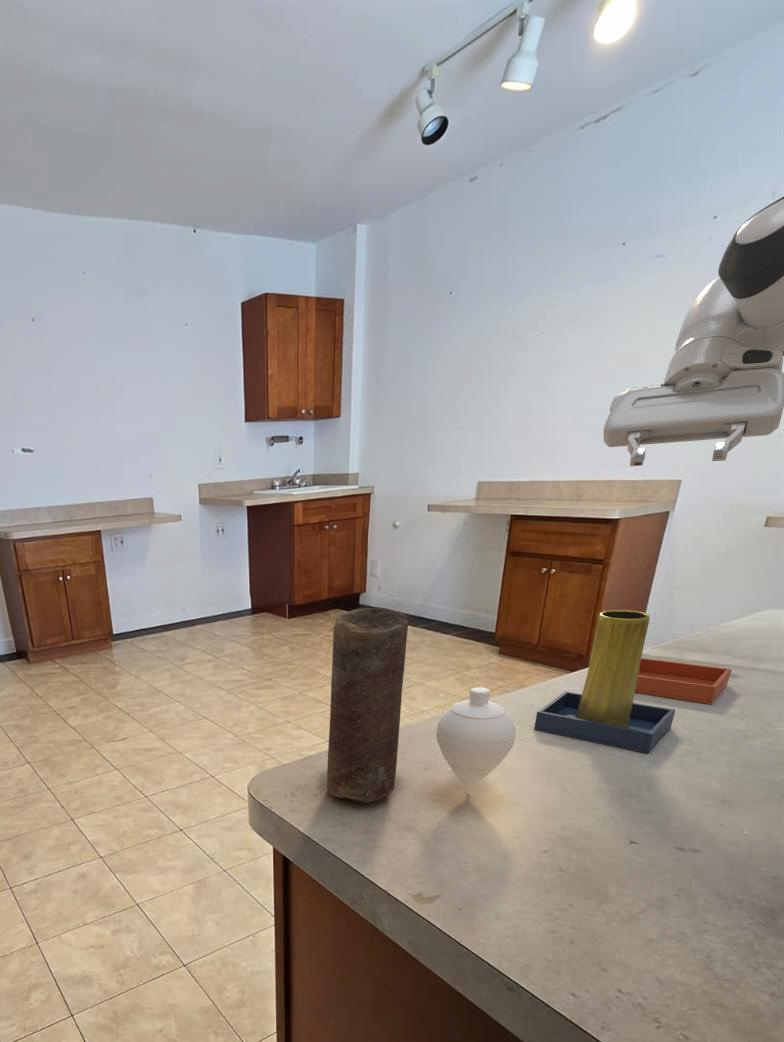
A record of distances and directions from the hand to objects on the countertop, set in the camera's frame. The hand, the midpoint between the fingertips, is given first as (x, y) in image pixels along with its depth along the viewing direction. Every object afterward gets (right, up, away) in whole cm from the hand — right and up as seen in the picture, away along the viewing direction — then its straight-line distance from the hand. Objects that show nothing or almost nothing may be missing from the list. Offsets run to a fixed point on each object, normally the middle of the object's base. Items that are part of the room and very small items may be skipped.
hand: (676, 460), depth 88 cm
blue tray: (-14, -37, -5) cm, 40 cm away
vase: (-14, -37, -5) cm, 40 cm away
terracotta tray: (+4, -30, +7) cm, 31 cm away
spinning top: (-36, -46, -18) cm, 61 cm away
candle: (-48, -46, -17) cm, 68 cm away
